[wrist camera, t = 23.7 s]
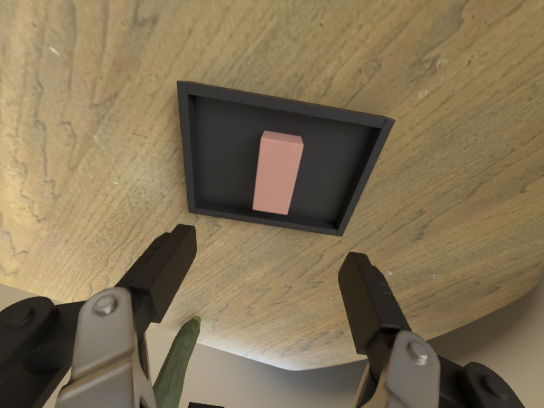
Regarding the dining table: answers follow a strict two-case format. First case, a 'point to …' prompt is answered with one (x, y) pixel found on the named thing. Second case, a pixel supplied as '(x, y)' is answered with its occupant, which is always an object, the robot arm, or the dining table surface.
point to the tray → (245, 152)
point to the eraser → (276, 171)
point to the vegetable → (176, 366)
